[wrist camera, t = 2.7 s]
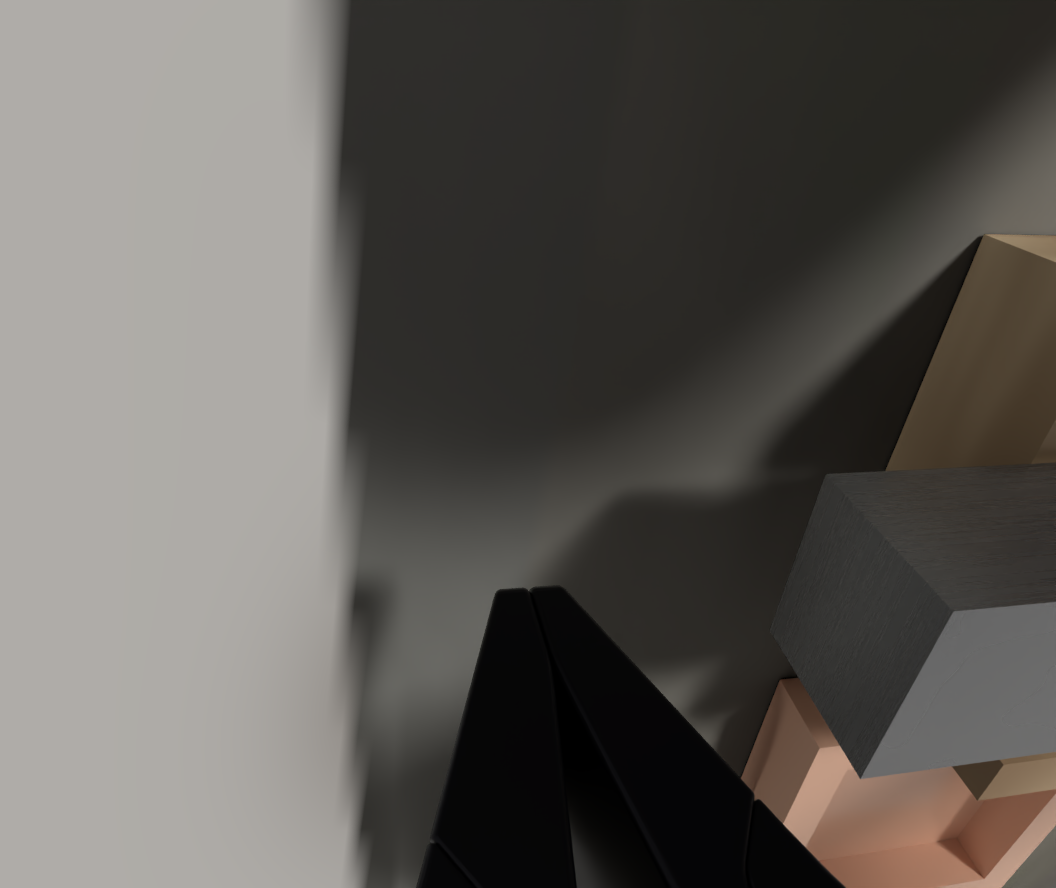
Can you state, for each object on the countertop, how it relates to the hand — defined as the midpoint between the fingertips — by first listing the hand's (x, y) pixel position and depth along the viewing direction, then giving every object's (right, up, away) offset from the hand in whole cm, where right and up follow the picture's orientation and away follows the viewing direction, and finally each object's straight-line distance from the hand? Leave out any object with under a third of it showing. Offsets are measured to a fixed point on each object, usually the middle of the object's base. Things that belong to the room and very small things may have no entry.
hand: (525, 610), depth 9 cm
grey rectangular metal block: (+7, +1, +2) cm, 7 cm away
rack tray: (+10, -7, +11) cm, 16 cm away
